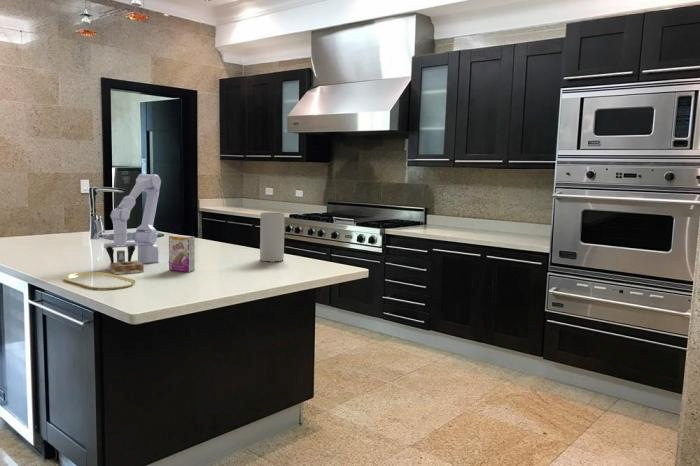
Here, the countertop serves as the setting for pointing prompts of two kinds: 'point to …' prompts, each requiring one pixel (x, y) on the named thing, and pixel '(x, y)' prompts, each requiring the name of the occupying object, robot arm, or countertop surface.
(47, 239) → the countertop surface
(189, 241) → the candy bar box
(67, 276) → the yellow rubber band
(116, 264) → the socket block
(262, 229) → the cylinder vase
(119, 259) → the pin
